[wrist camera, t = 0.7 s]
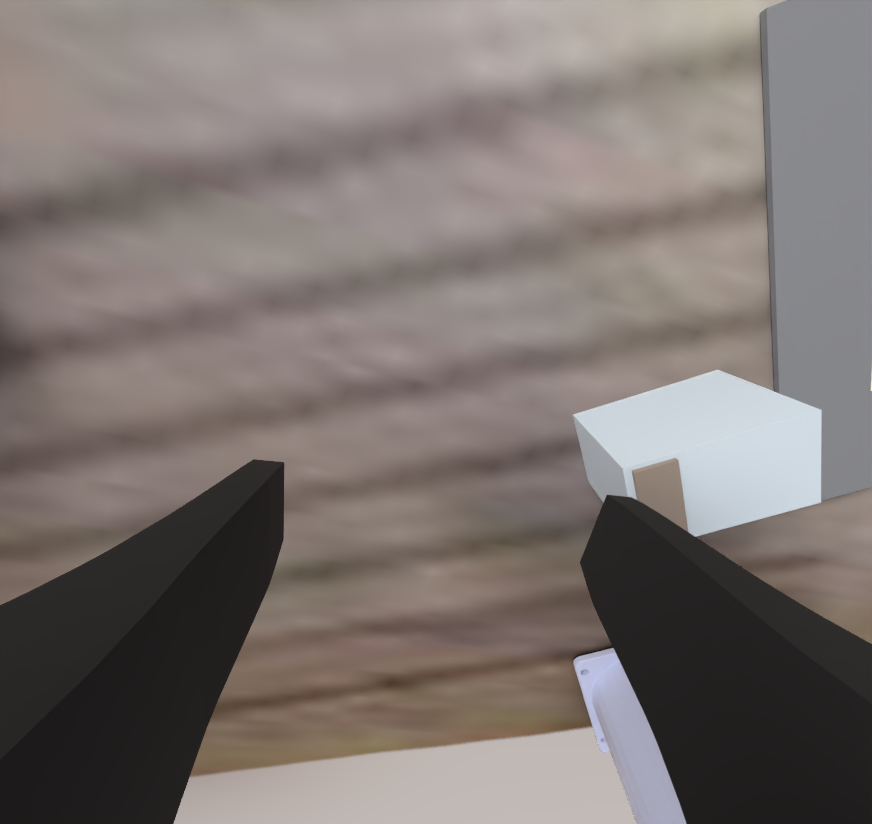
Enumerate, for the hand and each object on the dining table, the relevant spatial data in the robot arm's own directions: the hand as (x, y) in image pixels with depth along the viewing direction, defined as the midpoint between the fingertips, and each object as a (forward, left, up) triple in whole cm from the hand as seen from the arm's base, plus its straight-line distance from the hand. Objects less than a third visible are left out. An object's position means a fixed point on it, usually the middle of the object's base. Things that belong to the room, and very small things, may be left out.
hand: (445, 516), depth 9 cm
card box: (-6, -9, -11) cm, 15 cm away
